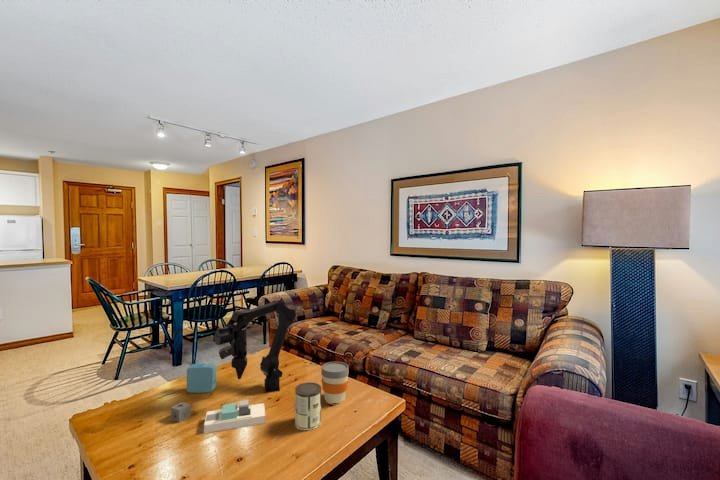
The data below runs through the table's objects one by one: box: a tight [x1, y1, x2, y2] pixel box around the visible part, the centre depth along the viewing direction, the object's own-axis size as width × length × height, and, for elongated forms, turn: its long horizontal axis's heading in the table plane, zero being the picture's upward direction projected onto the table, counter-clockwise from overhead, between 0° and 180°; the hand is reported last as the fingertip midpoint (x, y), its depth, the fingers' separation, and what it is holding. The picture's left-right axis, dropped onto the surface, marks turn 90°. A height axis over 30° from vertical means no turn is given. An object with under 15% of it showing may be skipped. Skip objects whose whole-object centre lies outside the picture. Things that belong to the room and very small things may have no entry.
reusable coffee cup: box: [321, 361, 350, 403], centre depth 149 cm, size 13×13×15 cm
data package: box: [186, 363, 217, 394], centre depth 156 cm, size 12×4×12 cm, turn 93°
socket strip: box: [203, 403, 266, 434], centre depth 131 cm, size 22×10×3 cm, turn 109°
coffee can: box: [294, 382, 322, 431], centre depth 130 cm, size 10×10×14 cm
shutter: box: [221, 402, 238, 420], centre depth 130 cm, size 6×7×2 cm
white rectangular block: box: [238, 399, 250, 416], centre depth 132 cm, size 4×4×6 cm
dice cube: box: [170, 401, 192, 423], centre depth 132 cm, size 5×5×5 cm
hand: (239, 374), depth 146 cm, fingers open, 9 cm apart
